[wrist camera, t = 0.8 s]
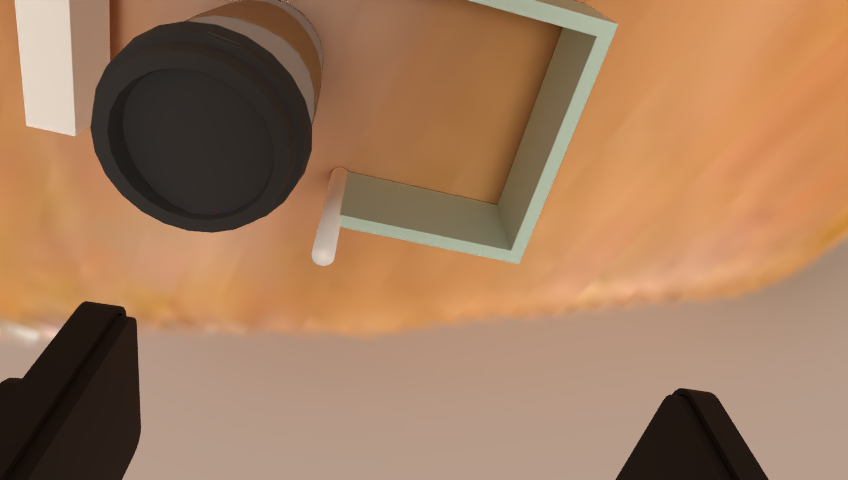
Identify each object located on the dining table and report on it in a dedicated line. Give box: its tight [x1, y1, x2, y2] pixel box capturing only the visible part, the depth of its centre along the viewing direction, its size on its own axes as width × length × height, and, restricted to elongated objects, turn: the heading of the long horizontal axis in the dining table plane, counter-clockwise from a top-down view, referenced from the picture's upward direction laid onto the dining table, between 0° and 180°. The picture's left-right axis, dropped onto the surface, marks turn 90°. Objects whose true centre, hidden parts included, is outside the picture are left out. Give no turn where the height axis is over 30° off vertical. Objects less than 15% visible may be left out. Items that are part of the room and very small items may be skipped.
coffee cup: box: [91, 0, 323, 233], centre depth 28 cm, size 8×8×15 cm
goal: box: [311, 0, 618, 266], centre depth 32 cm, size 15×12×10 cm
